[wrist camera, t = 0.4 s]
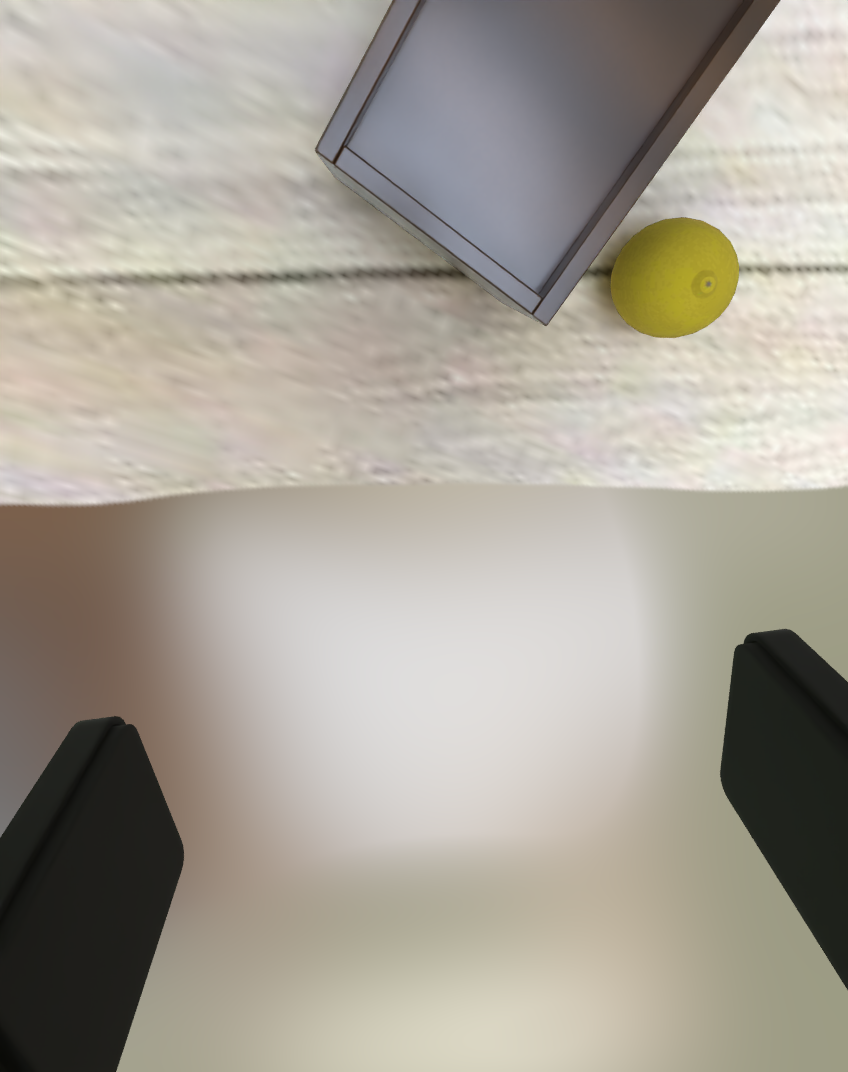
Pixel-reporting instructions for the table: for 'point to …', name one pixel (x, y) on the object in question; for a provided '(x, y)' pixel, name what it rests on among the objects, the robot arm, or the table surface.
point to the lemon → (674, 277)
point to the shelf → (527, 125)
